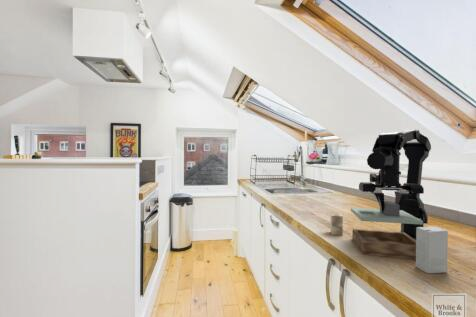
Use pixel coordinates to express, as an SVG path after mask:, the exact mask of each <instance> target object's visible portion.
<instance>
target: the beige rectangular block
mask: <svg viewBox="0 0 476 317" xmlns="http://www.w3.org/2000/svg"><path fill="white" fill-rule="evenodd" d="M343 218H344V217H343V215H342V214H341V213H333V212H332V213H330V233H331V236H341V237H342V236H343V233H344V231H343V227H344V226H343V222H344V221H343Z"/></svg>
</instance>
